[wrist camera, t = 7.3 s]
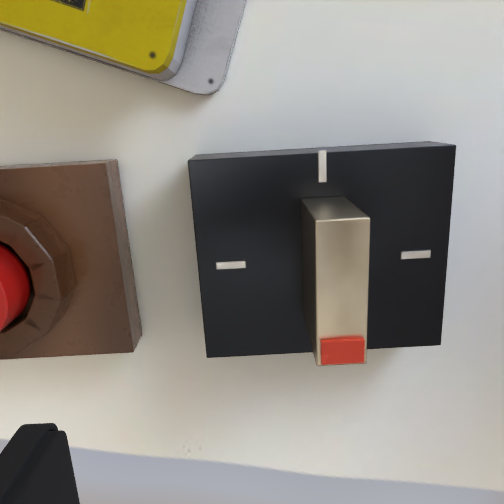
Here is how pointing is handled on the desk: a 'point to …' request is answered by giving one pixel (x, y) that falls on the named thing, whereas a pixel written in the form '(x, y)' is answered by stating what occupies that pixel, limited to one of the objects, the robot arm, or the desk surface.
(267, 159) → the panel
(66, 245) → the button block
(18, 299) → the button
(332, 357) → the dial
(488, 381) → the desk surface
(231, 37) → the emergency button
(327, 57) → the desk surface
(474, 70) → the desk surface
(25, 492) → the robot arm
